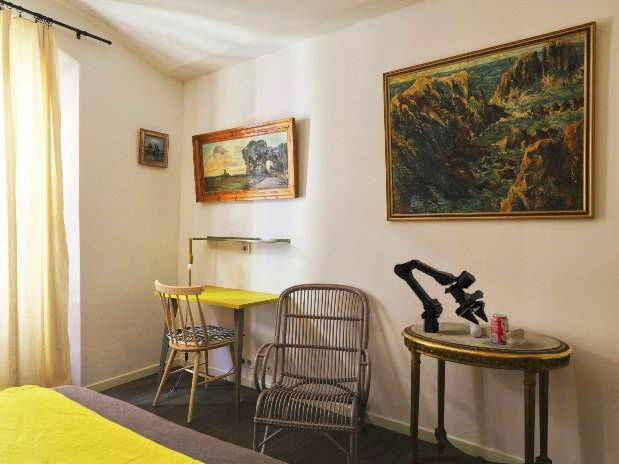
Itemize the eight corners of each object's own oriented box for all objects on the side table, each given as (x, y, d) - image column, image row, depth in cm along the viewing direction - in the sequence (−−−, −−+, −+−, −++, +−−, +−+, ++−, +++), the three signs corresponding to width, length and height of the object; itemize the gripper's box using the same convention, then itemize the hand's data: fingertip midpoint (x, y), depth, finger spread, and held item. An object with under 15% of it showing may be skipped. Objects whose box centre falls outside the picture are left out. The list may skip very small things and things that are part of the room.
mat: (482, 343, 189) (482, 342, 189) (492, 339, 196) (492, 338, 196) (505, 347, 182) (505, 346, 182) (515, 343, 189) (515, 342, 189)
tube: (484, 330, 198) (480, 320, 222) (472, 325, 200) (470, 316, 224) (480, 341, 199) (477, 329, 223) (468, 336, 201) (466, 325, 224)
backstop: (506, 347, 182) (506, 333, 182) (519, 342, 192) (519, 328, 192) (511, 348, 181) (511, 333, 181) (524, 342, 190) (524, 329, 190)
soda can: (509, 342, 189) (509, 314, 189) (507, 345, 183) (507, 317, 183) (492, 340, 193) (492, 313, 193) (489, 343, 187) (489, 315, 187)
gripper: (462, 285, 191) (486, 314, 183) (481, 282, 204) (505, 309, 196) (445, 301, 197) (468, 330, 189) (465, 297, 210) (487, 324, 202)
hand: (483, 323), depth 193 cm, fingers open, 9 cm apart
